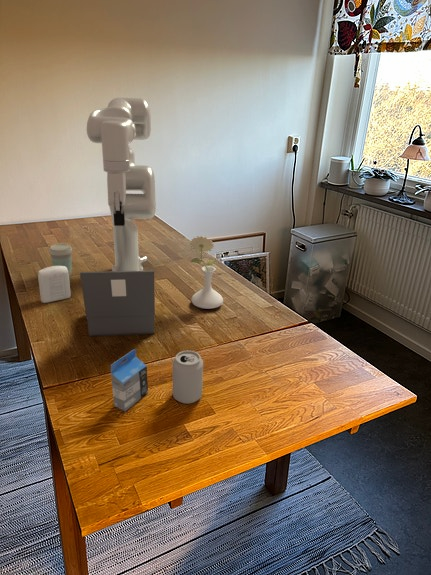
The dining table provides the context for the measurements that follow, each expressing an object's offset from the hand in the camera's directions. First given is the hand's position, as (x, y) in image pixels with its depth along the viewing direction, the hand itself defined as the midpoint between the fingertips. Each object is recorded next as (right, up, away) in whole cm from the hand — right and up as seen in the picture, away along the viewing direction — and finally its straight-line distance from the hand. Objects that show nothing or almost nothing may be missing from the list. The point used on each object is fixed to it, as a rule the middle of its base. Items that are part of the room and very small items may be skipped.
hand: (119, 224), depth 142 cm
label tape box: (+9, -48, -28) cm, 56 cm away
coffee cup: (-30, -15, +37) cm, 50 cm away
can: (+23, -48, -26) cm, 59 cm away
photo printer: (-26, -24, +19) cm, 40 cm away
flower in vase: (+26, -26, +20) cm, 42 cm away
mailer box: (0, -31, +6) cm, 32 cm away
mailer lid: (+2, -22, -9) cm, 24 cm away
